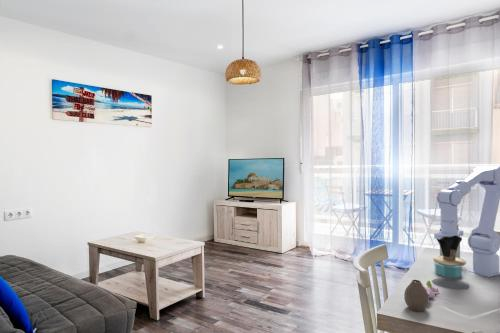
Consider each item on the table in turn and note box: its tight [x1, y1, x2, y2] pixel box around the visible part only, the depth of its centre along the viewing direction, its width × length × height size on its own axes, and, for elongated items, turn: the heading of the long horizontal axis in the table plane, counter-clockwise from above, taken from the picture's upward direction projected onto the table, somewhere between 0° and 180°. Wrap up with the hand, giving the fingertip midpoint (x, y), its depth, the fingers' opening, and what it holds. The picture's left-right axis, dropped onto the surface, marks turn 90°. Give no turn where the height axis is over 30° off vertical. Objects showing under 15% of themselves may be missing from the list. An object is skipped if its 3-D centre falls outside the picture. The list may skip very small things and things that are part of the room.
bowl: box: [434, 261, 463, 279], centre depth 139 cm, size 9×9×4 cm
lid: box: [432, 249, 467, 266], centre depth 133 cm, size 11×11×5 cm
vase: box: [403, 279, 430, 312], centre depth 107 cm, size 7×7×9 cm
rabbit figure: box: [424, 280, 441, 299], centre depth 116 cm, size 6×6×15 cm
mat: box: [431, 277, 470, 291], centre depth 127 cm, size 12×12×1 cm
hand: (449, 255), depth 133 cm, fingers closed on lid, 3 cm apart
